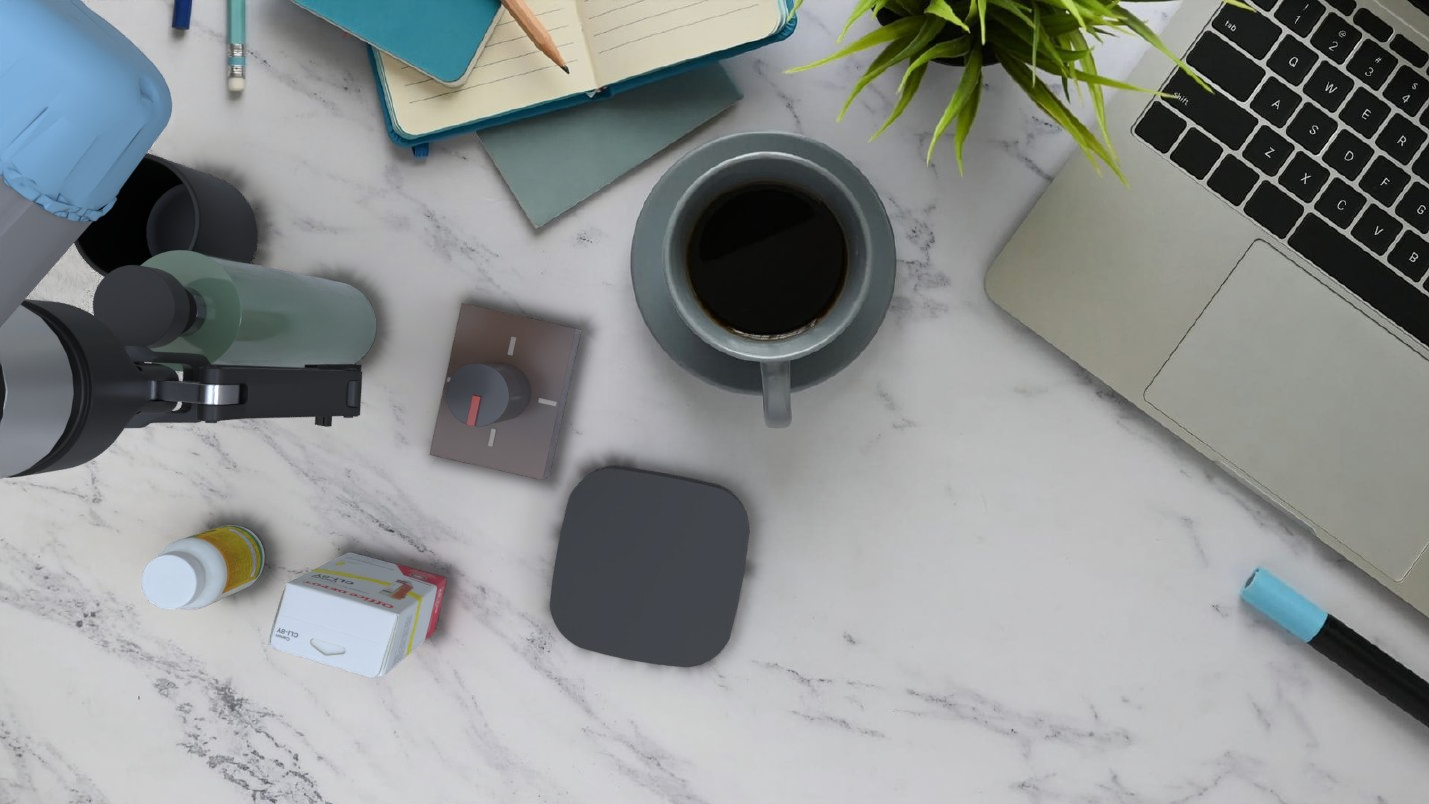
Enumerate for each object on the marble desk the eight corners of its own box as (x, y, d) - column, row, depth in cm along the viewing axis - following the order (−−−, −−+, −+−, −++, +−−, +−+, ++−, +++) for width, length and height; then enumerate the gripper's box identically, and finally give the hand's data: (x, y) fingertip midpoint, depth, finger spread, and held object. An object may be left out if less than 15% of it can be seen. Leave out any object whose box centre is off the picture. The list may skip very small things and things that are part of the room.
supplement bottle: (233, 602, 80) (166, 636, 70) (187, 554, 80) (114, 581, 70) (281, 557, 80) (220, 584, 70) (235, 509, 79) (168, 530, 70)
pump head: (125, 260, 54) (101, 256, 52) (203, 278, 54) (182, 274, 52) (100, 385, 55) (75, 385, 52) (178, 402, 55) (156, 404, 52)
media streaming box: (757, 489, 79) (759, 494, 76) (724, 666, 80) (724, 678, 77) (578, 456, 79) (572, 460, 76) (546, 634, 80) (539, 644, 77)
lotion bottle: (299, 272, 79) (123, 235, 56) (384, 291, 79) (243, 262, 56) (281, 358, 79) (99, 356, 56) (366, 377, 79) (219, 384, 56)
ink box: (450, 576, 79) (402, 614, 68) (434, 635, 80) (383, 682, 68) (348, 548, 79) (281, 580, 68) (332, 606, 80) (264, 649, 68)
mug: (140, 142, 78) (64, 114, 69) (278, 204, 78) (220, 184, 69) (95, 251, 79) (13, 237, 70) (232, 313, 79) (168, 306, 70)
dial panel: (471, 304, 79) (460, 302, 75) (581, 329, 79) (575, 328, 75) (440, 451, 79) (428, 455, 76) (549, 475, 79) (542, 480, 76)
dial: (480, 357, 76) (452, 357, 68) (536, 370, 76) (514, 371, 68) (468, 413, 76) (438, 419, 68) (524, 426, 76) (500, 433, 68)
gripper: (-311, 458, 41) (45, 424, 62) (290, 500, 40) (441, 452, 62) (-307, 275, 40) (50, 304, 61) (300, 317, 40) (448, 332, 61)
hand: (246, 378), depth 62 cm, fingers open, 13 cm apart
